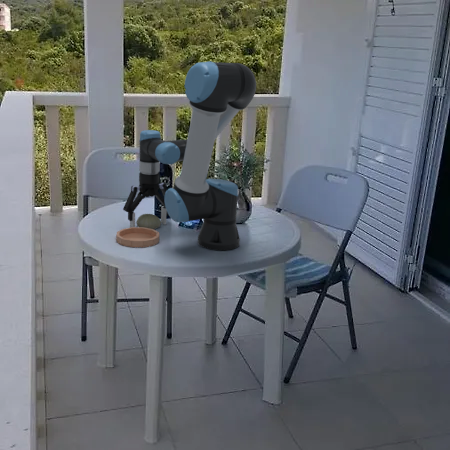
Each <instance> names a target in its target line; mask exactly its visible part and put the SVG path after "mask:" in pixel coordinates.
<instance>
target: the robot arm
mask: <svg viewBox="0 0 450 450" xmlns="http://www.w3.org/2000/svg"><path fill="white" fill-rule="evenodd" d="M184 89H185V91H184V93H185V96H186V98H187V100H188V101H189V105H190V107H191V108H192V113H191V119H190V125H189V129H188V135H187V139H175V140H174V139H173V140H163V139H162V137H161V136H162V135H161V132H160V131H158V130H152V129H145V130H141V131H140V133H139V142H138V143H139V162H138V163H139V164H138V165H139V168H138V169H139V170H138V171H139V173H138V183H139V185H137V186H135V185H131V187H130V192H129V195H128V197H127V199H126V201H125V203H124V206H123V208H122V210H123V211H124V212H126V213H127V220H128V221H129V228H132V227H136V212H134V211H135V210H136V209H137V208H138V206H139V205H140V204H141V202H142V201H143V200H145V198H150V197H155V198H156V199H157V200H158V201H159V203H160V204H161V205H162V206H161V208H160V209H161V210H160V211H161V212H160V221H161V224H162V225H164V226H166V225H167V216H169V217H170V219H171V220H172V221H174V222H176V223H188V222H192V221H197V220H202V221H203V222H202V225H201V228H200V230H199V233H198V234H197V235H198V236H197V244H198V246H200V247H202V248H204V249H208V250H212V251H213V250H214V251H231V250H234V249H237V248H238V247H239V246H240V244H241V243H240V242H241V238H240V235H239V230H238V227H237V213H238V212H237V211H238V200H239V187H238V184H236V183H234V182H233V181H230V180H225V179H220V178H207V177H208V173H209V169H210V165H211V164H210V163H211V159H212V155H213V150H214V145H215V140H216V139H217V138H218V137H219V136H220V135H221V133H222V132H223V131H224V130H225V129H226V127H227V126H228V125H229V123H231V121H232V120H233V119H234V118H235V116H237V114H238V113H239V112H240V111H243V110H245V109H246V108H248V105H250V104H251V102H252V101H253V99H254V97H255V94H256V91H257V81H256V77H255V74H254V73H253V71H252V70H251V69H250V68H249V67H248V66H246V65H245V64H243V63H239V62H219V61H218V62H217V61H215V62H214V61H202V62H201V61H200V62H196V63H194V65H192V66H191V67H190V68H189V70H187V73H186V76H185V79H184ZM177 162H182V166H181V171H180V175H179V176H178V177H176V178H175V180H174V183H173V187H169V188H168V187H167V184H166V183H165V182H160V171H161V167H160V166H161V165H160V164H164V165H174V164H175V163H177ZM159 189H160V191H161V193H162V195H163V197H162V195H161V193H160V192H159Z"/></svg>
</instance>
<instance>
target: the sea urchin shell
mask: <svg viewBox="0 0 450 450" xmlns="http://www.w3.org/2000/svg"><path fill="white" fill-rule="evenodd" d="M135 224H136V227H144V228H149V229H154V230H155V229H158V228H160V226H161V224H162V223H161V218H160V217H159V216H157V215H155V214H152V213H143V214H141V215H139V217H137V220H135Z"/></svg>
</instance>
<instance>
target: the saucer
mask: <svg viewBox="0 0 450 450" xmlns="http://www.w3.org/2000/svg"><path fill="white" fill-rule="evenodd" d="M115 235H116V236H115V237H116V242H117V243H118V245H121V246H123V247H127V248H135V247H136V248H135V249H137V247H138V248H139V247H141V248H149V246H150V247H154V246H155V245H158V243H159V242H160V232H159V231H157V230H155V229H149V228H144V227H138V226H135V227H132V228H130V227H127V228H122V229H119V230H117V231H116V234H115Z"/></svg>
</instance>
